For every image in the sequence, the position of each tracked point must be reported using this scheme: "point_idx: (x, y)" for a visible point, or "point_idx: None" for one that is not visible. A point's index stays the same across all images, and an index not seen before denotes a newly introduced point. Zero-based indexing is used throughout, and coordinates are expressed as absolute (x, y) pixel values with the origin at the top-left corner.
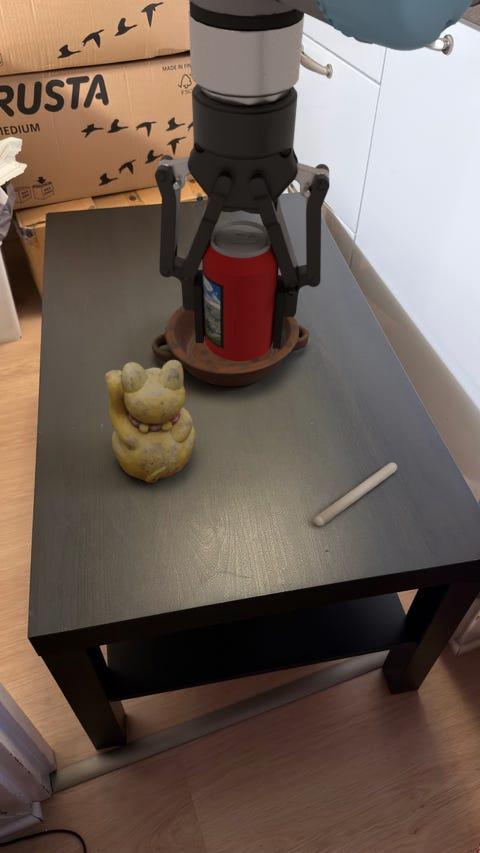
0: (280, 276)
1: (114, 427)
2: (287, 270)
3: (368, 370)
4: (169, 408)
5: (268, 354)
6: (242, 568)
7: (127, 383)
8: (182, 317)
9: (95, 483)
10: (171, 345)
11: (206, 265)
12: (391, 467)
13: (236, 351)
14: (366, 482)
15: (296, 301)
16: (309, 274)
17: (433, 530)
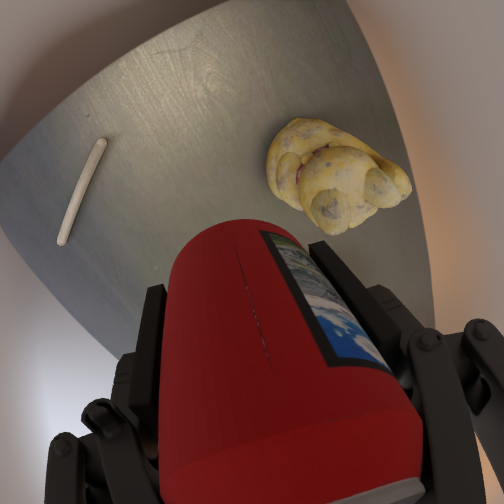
0: None
1: (365, 144)
2: (124, 475)
3: (133, 346)
4: (314, 165)
5: None
6: (163, 60)
7: (386, 174)
8: None
9: (349, 113)
10: None
11: (412, 408)
12: (59, 238)
13: (226, 233)
14: (72, 209)
15: (113, 390)
16: (69, 465)
17: (14, 187)
